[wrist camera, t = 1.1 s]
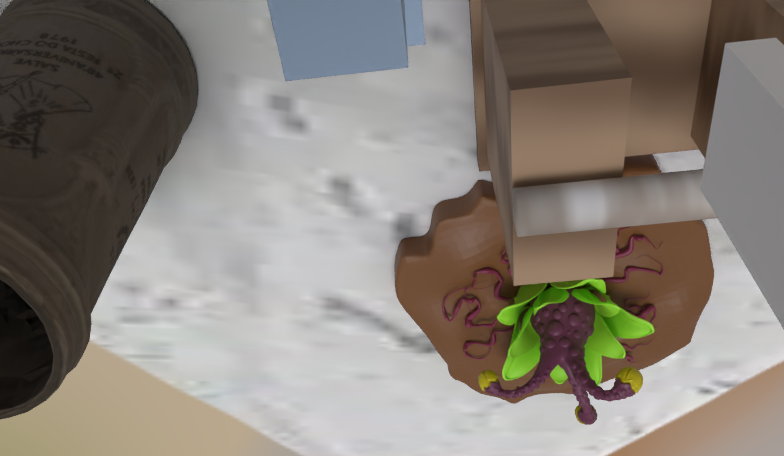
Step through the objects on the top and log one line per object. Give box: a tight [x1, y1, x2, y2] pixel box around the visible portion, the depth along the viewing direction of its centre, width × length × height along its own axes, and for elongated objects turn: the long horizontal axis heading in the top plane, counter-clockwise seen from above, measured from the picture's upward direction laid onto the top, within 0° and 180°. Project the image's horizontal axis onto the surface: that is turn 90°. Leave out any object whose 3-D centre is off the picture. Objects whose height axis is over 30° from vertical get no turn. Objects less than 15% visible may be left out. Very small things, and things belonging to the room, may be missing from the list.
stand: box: [469, 0, 784, 286], centre depth 34 cm, size 12×17×14 cm
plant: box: [395, 154, 714, 425], centre depth 45 cm, size 20×20×11 cm
